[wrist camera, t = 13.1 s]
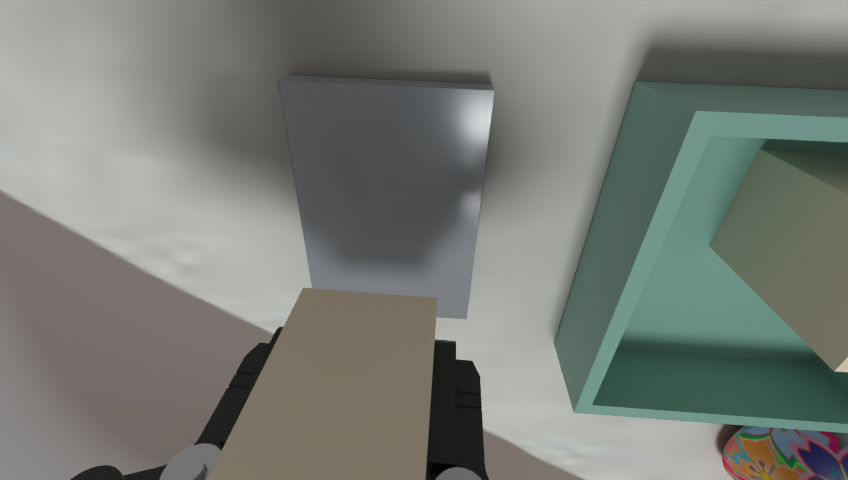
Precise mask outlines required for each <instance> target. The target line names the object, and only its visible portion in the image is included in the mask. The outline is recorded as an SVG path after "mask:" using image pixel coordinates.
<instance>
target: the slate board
mask: <svg viewBox="0 0 848 480" xmlns="http://www.w3.org/2000/svg"><path fill="white" fill-rule="evenodd" d="M278 82H279V88H280V94H281V100H282V106H283V113H284V119H285V125H286V131H287V137H288V143H289V149H290V155H291V161H292V167H293V173H294V180H295V186H296V192H297V198H298V204H299V210H300V216H301V222H302V228H303V234H304V240H305V246H306V253H307V259H308V265H309V271H310V277H311V283H312V288H314V289H327V290H340V291H353V292H366V293H379V294H392V295H405V296H418V297H431V298H437V312H436V317H443V318H458V319H466V318H467V310H468V302H469V294H470V285H471V277H472V269H473V261H474V253H475V245H476V237H477V229H478V221H479V213H480V205H481V196H482V188H483V180H484V172H485V164H486V156H487V148H488V140H489V132H490V124H491V116H492V107H493V99H494V91H495V90H494V88H493V85H492V84H478V83H455V82H433V81H411V80H388V79H366V78H344V77H322V76H299V75H288V76H286V77H284V78H282V79H281V80H279V81H278Z"/></svg>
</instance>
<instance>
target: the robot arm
mask: <svg viewBox="0 0 848 480" xmlns="http://www.w3.org/2000/svg"><path fill="white" fill-rule="evenodd" d="M282 329H283V327H279V328H278V329H277V330H276V332H275V334H274V336H273V338H272V340H271V341H270V343H269V344H266V343H259V344H258V345H257V346H256V347H255V348H254V349H253V350H252V351H250V352H249V353H248V354H247V355H246V356H245V357H244V359H243V361H242V363H241V365H240V367H239V368H238V370H237V373H236V375H234V377H233V379H232V381H231V382H230V384H229V388H227V389H226V391H225V393H224V395H223V397H222V398H221V400H220V402H219V404H218V406H217V408H216V409H215V411H214V413H213V414H212V416H211V418H210V420H209V422H208V423H207V425H206V427H205V429H204V430H203V432H202V434H201V436H200V437H199V439H198V440H197V442H196V443H195V444H194V445H193V446H191V447H189V448H187V449H185V450H183V451H182V452H180V453H179V454H178V455H176V456H175V457H174V458H173V459H172V460H171V461H170V462H169V463H168V464H167V465H164V466H161V467H157V468H154V469H149V470H145V471H141V472H137V473H132V474H128V475H124V476H123V475H122V474H121V472H120V471H119V470H118V469H117V468H115V467H113V466H108V465H104V466H97V467H94V468H90V469H88V470H86V471H83V472H82V473H80V474H78V475H77V476H75V477H74V478H72V479H71V480H207V479H208V477H209V475H210V473H211V471H212V469H213V467H214V465H215V463H216V461H217V459H218V457H219V455H220V453H221V451H222V449H223V447H224V445H225V443H226V441H227V439H228V437H229V435H230V433H231V431H232V429H233V427H234V425H235V423H236V421H237V419H238V417H239V415H240V413H241V411H242V409H243V407H244V405H245V403H246V401H247V399H248V397H249V395H250V393H251V391H252V389H253V387H254V385H255V383H256V381H257V379H258V377H259V375H260V373H261V371H262V369H263V367H264V365H265V363H266V361H267V359H268V357H269V355H270V353H271V351H272V349H273V347H274V345H275V343H276V341H277V339H278V337H279V335H280V333H281V331H282ZM481 408H482V407H481V388H480V376H479V374H478V372H477V370H476V368H475V366H474V364H473V362H472V361H467V360H456V341H446V340H435V343H434V358H433V373H432V388H431V403H430V419H429V434H428V449H427V464H426V479H425V480H489V479H488V476H487V474H486V470H485V463H484V445H483V425H482V411H481Z"/></svg>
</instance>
